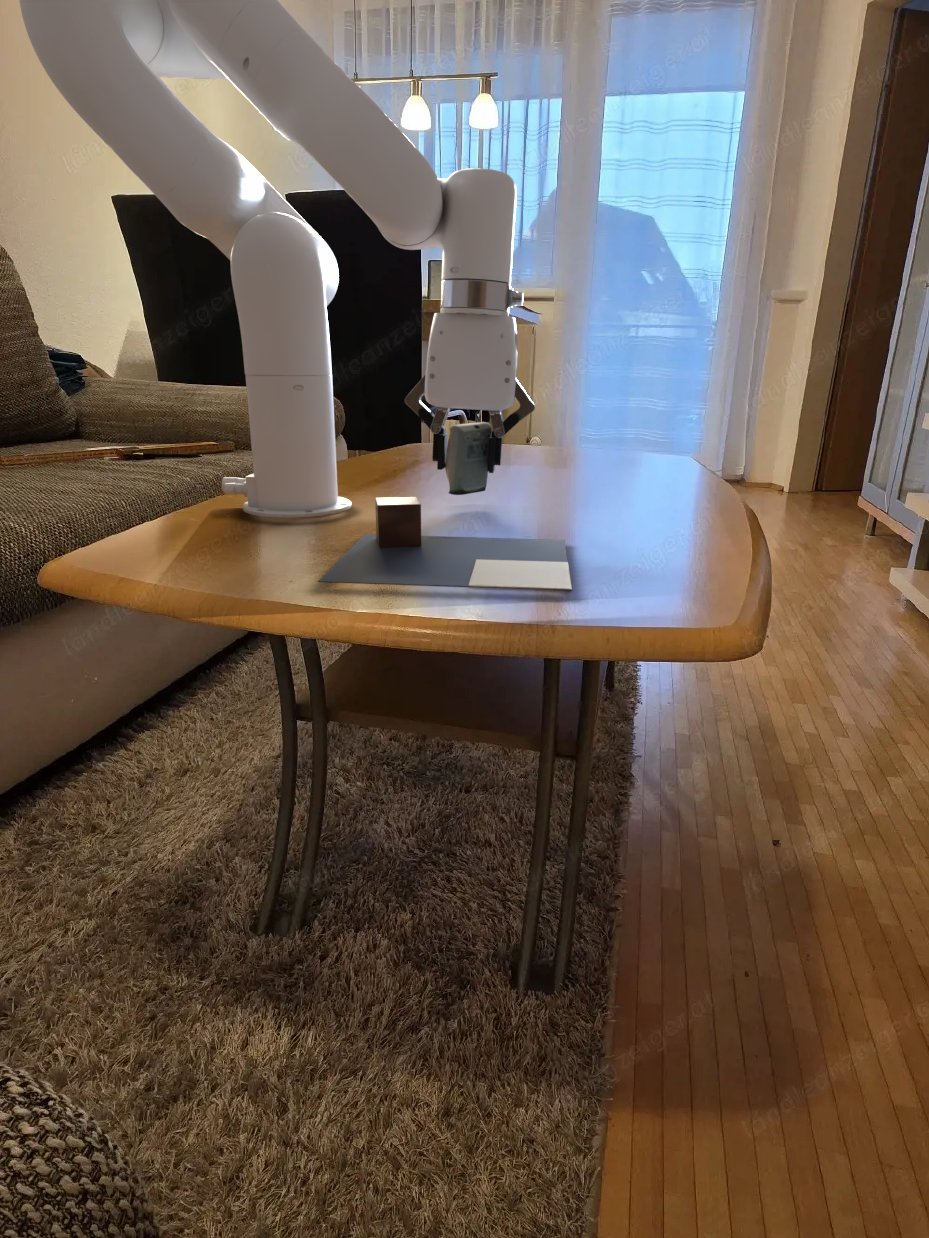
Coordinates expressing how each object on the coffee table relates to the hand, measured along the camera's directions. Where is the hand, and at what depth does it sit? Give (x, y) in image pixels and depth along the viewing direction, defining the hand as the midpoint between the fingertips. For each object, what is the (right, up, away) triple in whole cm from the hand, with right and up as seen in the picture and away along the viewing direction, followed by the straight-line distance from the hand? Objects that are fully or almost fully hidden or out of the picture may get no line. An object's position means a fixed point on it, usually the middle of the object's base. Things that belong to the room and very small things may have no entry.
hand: (466, 468), depth 88 cm
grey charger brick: (0, -3, +1) cm, 3 cm away
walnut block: (-7, -10, -15) cm, 20 cm away
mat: (-1, -13, -21) cm, 25 cm away
